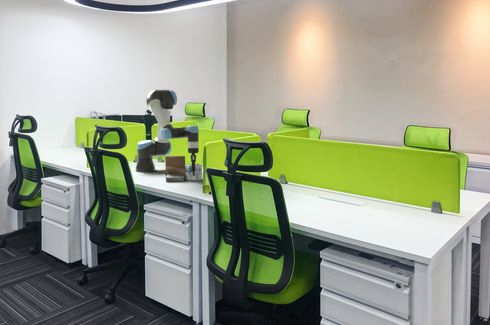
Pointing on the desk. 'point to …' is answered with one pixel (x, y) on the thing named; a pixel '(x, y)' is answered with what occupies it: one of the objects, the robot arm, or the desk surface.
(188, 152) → the robot arm
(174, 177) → the brown box
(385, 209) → the desk surface
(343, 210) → the desk surface
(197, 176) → the light bulb box
